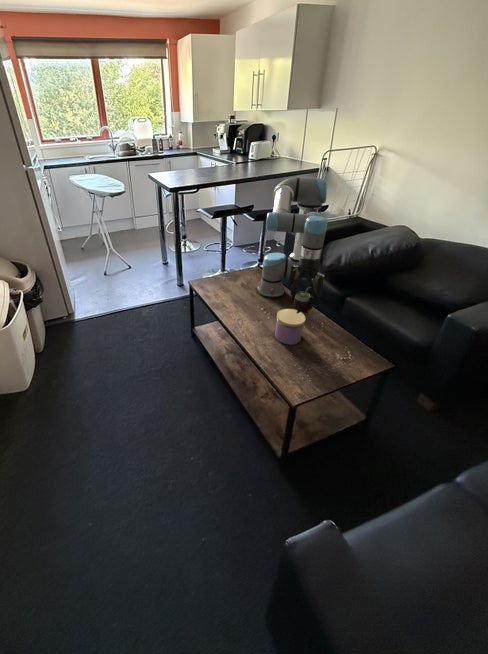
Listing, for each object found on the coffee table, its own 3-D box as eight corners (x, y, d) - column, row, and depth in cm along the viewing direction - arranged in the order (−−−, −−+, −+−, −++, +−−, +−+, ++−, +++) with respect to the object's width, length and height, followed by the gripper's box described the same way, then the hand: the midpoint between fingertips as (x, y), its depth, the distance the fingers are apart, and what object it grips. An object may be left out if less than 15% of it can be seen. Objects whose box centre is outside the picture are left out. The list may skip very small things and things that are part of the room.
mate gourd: (297, 304, 141) (302, 274, 133) (314, 310, 136) (320, 280, 128) (288, 311, 136) (293, 280, 129) (305, 318, 131) (311, 287, 124)
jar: (283, 325, 159) (286, 305, 153) (306, 336, 151) (310, 316, 145) (269, 336, 151) (271, 316, 146) (292, 348, 143) (296, 328, 138)
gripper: (282, 252, 127) (276, 300, 139) (330, 267, 115) (319, 319, 127) (292, 247, 132) (285, 293, 144) (339, 261, 119) (328, 311, 131)
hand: (301, 305), depth 135 cm, fingers closed on mate gourd, 7 cm apart
